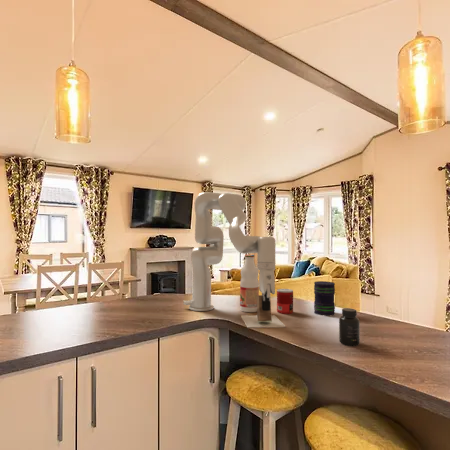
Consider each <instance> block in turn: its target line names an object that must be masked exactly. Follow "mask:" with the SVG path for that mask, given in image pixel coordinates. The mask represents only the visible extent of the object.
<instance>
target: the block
mask: <svg viewBox="0 0 450 450" xmlns="http://www.w3.org/2000/svg"><path fill="white" fill-rule="evenodd" d="M256 297H257V311H256V315H257V319H258V322H272V318H271V315H272V303H271V300H270V311H263V310H262V294H261V295H260V294H259V295H258V296H256Z"/></svg>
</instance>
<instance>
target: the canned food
mask: <svg viewBox="0 0 450 450" xmlns="http://www.w3.org/2000/svg"><path fill="white" fill-rule="evenodd" d="M276 311H277V313H278V314H282V315H290V314H293V312H294V290H293V289H289V288H278V289H277V290H276Z"/></svg>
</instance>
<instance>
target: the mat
mask: <svg viewBox="0 0 450 450" xmlns="http://www.w3.org/2000/svg"><path fill="white" fill-rule="evenodd" d="M240 316H241V319H242V321H243V322H244V324H245V326H246V327H247V329H255V328H258V329H260V328H286V325H285V324H284V323H283V322H282V321H281V320H280V319H279V318H278V317H277V316H276V315H275V314H273V315H272V314H271V318H272V322H258V319H257V314H256V315H240Z"/></svg>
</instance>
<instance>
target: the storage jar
mask: <svg viewBox="0 0 450 450" xmlns="http://www.w3.org/2000/svg"><path fill="white" fill-rule="evenodd" d="M313 283H314V285H313V290H314V291H313V293H314V302H313V308H314V309H313V310H314V314H315V315H319V316H323V315H326V316H325V317H330V315H332V316H335V315H334V314H335V310H336V304H335V295H336V292H335V291H336V289H335V288H336V286H335V282H332V281H322V280H321V281H319V280H317V281H314V282H313Z"/></svg>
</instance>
